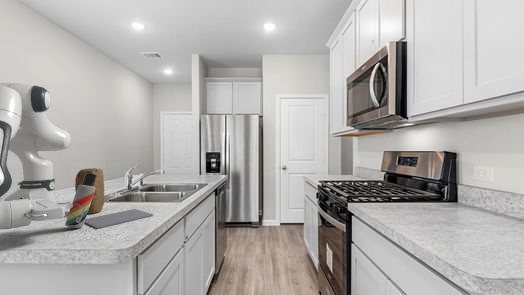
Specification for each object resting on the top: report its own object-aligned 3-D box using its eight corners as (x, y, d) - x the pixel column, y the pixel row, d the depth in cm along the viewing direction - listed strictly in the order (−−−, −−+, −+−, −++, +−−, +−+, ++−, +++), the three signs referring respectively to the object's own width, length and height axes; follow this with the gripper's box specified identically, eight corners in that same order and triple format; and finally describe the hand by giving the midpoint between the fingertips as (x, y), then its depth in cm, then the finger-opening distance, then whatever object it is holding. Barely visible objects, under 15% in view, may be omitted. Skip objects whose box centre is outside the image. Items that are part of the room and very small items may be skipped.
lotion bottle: (68, 227, 92) (87, 173, 96) (61, 224, 95) (80, 171, 99) (85, 228, 96) (102, 175, 100) (78, 224, 100) (95, 174, 103)
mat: (97, 229, 95) (97, 227, 95) (80, 221, 104) (80, 219, 104) (153, 215, 112) (153, 214, 112) (134, 210, 122) (134, 208, 122)
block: (106, 210, 121) (105, 168, 121) (92, 215, 114) (92, 169, 114) (86, 209, 123) (86, 168, 123) (72, 213, 116) (71, 169, 116)
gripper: (29, 208, 78) (82, 200, 89) (14, 199, 90) (62, 193, 101) (29, 228, 78) (82, 218, 89) (14, 217, 90) (62, 209, 101)
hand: (71, 204), depth 95 cm, fingers closed
